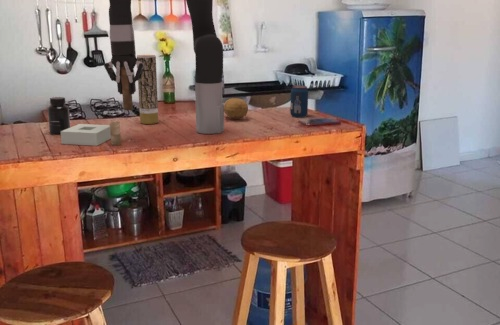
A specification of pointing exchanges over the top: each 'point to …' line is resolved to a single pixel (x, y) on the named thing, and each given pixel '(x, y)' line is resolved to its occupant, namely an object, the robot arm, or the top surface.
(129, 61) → the robot arm
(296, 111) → the soda can
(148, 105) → the paper tube
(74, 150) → the top surface
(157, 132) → the top surface
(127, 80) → the long pin
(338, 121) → the top surface
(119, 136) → the short pin
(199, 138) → the top surface
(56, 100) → the supplement bottle
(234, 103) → the potato
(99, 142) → the hole block
